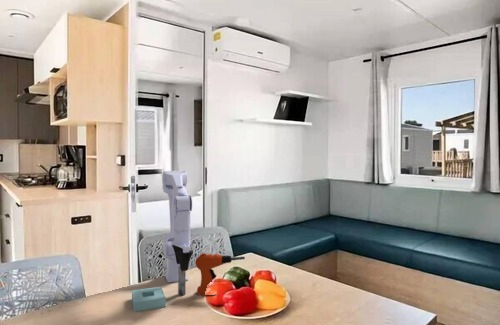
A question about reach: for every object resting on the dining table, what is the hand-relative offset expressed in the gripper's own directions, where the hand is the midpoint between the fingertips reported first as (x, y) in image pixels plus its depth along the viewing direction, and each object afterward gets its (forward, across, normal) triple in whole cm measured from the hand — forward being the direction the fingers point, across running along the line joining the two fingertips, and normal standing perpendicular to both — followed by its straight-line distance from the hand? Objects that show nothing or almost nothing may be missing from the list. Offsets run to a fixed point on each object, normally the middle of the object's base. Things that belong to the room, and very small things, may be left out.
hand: (182, 266), depth 127 cm
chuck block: (+10, +3, -12) cm, 16 cm away
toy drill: (+10, +4, +13) cm, 17 cm away
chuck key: (+10, 0, 0) cm, 10 cm away
